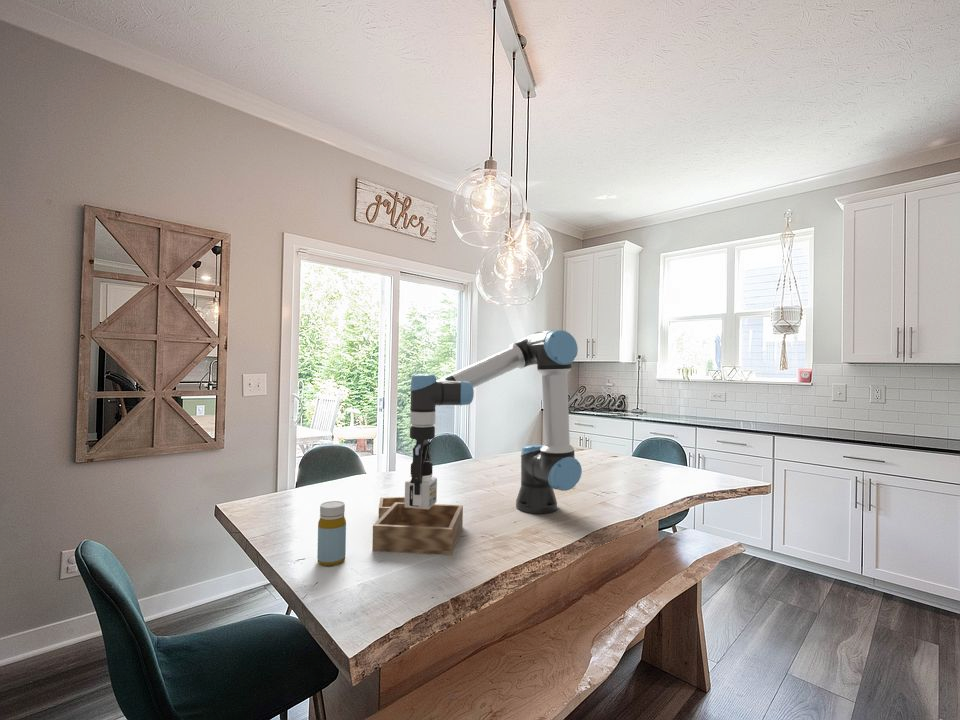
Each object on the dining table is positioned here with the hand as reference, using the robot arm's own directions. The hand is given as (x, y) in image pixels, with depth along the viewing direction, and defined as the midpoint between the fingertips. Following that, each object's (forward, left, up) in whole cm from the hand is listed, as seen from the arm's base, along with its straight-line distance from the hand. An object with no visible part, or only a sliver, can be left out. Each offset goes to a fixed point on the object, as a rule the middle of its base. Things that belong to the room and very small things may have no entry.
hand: (420, 500), depth 140 cm
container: (0, 0, -1) cm, 1 cm away
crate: (0, 0, -11) cm, 11 cm away
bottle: (+19, +19, -11) cm, 30 cm away
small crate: (+11, -16, -11) cm, 22 cm away
